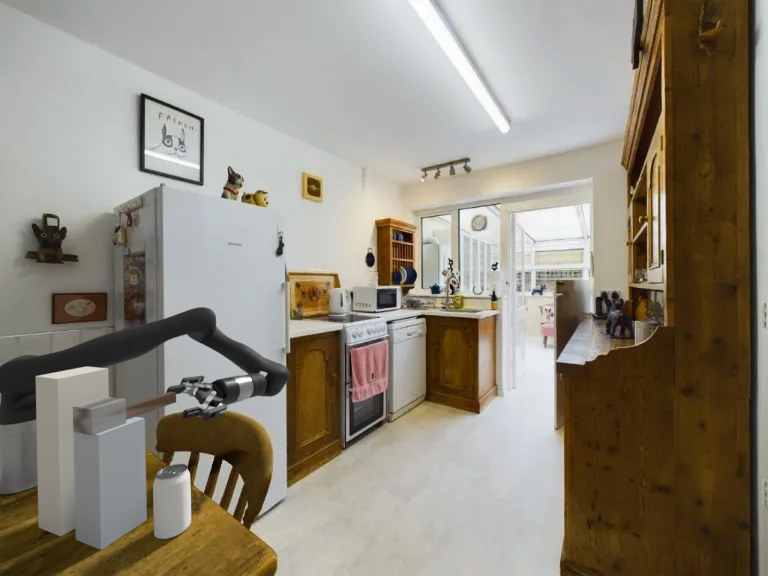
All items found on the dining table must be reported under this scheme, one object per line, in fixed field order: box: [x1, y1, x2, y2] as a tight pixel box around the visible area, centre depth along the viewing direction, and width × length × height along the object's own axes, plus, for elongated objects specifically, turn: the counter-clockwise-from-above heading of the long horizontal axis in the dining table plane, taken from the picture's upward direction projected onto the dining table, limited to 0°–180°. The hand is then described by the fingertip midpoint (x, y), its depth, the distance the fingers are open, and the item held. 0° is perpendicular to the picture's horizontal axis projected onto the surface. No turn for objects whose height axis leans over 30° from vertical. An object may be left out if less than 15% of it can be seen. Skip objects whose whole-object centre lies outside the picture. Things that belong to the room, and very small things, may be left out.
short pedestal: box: [74, 416, 148, 551], centre depth 68 cm, size 8×8×22 cm
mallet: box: [73, 392, 177, 435], centre depth 72 cm, size 6×18×5 cm, turn 160°
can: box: [152, 463, 192, 540], centre depth 68 cm, size 6×6×12 cm
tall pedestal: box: [36, 367, 110, 537], centre depth 72 cm, size 8×9×32 cm
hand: (174, 403), depth 81 cm, fingers open, 8 cm apart
